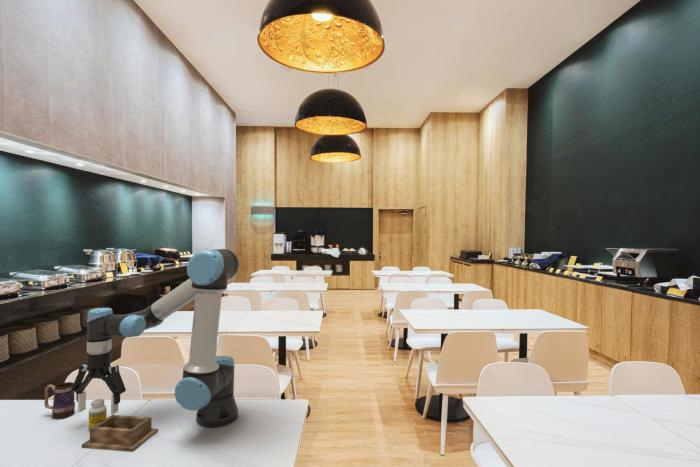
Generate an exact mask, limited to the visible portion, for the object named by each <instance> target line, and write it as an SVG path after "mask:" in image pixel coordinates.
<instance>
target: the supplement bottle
mask: <svg viewBox="0 0 700 467" xmlns="http://www.w3.org/2000/svg"><path fill="white" fill-rule="evenodd" d="M107 412H108V411H107V405H106V404H105V399H104V398H98V399H94V400H92V401H91V403H90V407H89V409H88V431H90V428H92V427H93V426H95V425H97V424H98V423H100V422H101V421H103V420H105V419H106V418H107Z"/></svg>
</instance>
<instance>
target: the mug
mask: <svg viewBox="0 0 700 467" xmlns="http://www.w3.org/2000/svg"><path fill="white" fill-rule="evenodd" d="M73 384H74V382H72V381H67V382H62V383H61V382H60V383H58V384H56V385H54V384H48V385H45V388H44V390H43V391H44V392H43V393H44V408H46V409H49V410H51V412H52V413H51V414H52V415H51V418H52V419H54V420H63V419H67V418H69V417H71V416H73V415H74V414H75V409H76V408H75V407H76V401H75V392H74V391H73V392H72V391H71V388H72V386H73ZM50 388H51V389H52V390H51V391H53V400H52V401H53V402H52V403H53V404H52V405H49V389H50Z"/></svg>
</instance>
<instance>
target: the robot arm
mask: <svg viewBox="0 0 700 467" xmlns="http://www.w3.org/2000/svg"><path fill="white" fill-rule="evenodd" d="M239 268H240V259H239V258H238V255H237V254H236V253H235V252H233V251H232V250H230V249H227V248H219V249H218V248H216V249H213V248H210V249H208V248H206V249H203V250H200V251H197V252H195V253H194V254H193V255H192V256H191V257H190V259H189V260H188V263H187V265H186V274H187V277H188V279H187V280H185V281H184V282H182V283H181V284H180V285H178V286H177V287H175V288H173V289H172V290H171V291H169V292H168V293H166V294H165V295H163V296H162V297H160V298H159V299H158V300H156V301H154V303H152V304H151V305H149V306H147V307H146V308H144V309H143V310H142V309H141V310H139V311H135V312H132V313H127V314H114V312H113V309H112V308H110V307H98V308H92V309H90V310H89V311H88V313H87V319H86V320H87V321H86V323H87V325H86V326H87V327H86V328H87V329H86V330H87V332H86V334H87V336H86V353H87V354H86V361H85V362H86V363H84V364H81V365H79V366H78V373H77V374H76V377H75V380H74V382H73V383H74V384H73V386H72V388H71V391H72V392H73V391H74V393H75V394H76V398H75V399H76V401H75V402H76V403H77V413H78V414H79V413H81V412H84V411H86V408H87V407H86V406H87V391H86V388H87V387H88V385H89V384H90V382H92V380H94V379H98V380H99V379H101V380H102V381H103V382H104V383H105V384H106V386H107V387H108V388H109V390H110V392H111V393H112V395H111V396H110V416H111V415H116V413H118V412H119V404H120V402H121V395H122V394H123V393H125V392H126V391H127V390H126V386H125V384H124V381H123V378H122V375H121V373H120V366H119V364H117V365H113V366H111V362H112V351H111V350H112V349H113V348H112V346H113V345H112V343H113V342H112V341H113V340H112V338H113V337H124V338H134V337H136V338H137V337H140V336H141V335H142V333H144V332H145V331H146V330H149V329H151V328H152V329H153V328H156V327H158V326H159V325H161V324H162V323H163V322H164V320H165V319H167V318H168V317H169V316H171V315H173V314H174V313H176V312H177V311H179V310H180V309H182V308H183V307H185V306H186V305H187V304H189V303H190V302H192V301H193V300H194V305H193V306H194V308H193V309H194V310H193V318H192V326H191V327H192V328H191V337H190V345H189V356H188V362H187V363H185V364H184V365H183V370H182V378H181V379H180V380H179V381H178V382H177V384H176V386H175V388H174V397H175V400H176V402H177V403H178V404H179V405H180V407H182V408H184V410H188V411H192V412H193V411H194V412H195V411H197V412H196V414H195V415H196V416H195V419H196V420H195V422H196V424H197V425H199V426H200V427H205V428H217V427H222V426H226V425H228V424H231V423H233V422H235V421H236V420H237V419H238V418H239V407H238V405H237V401H236V399H235V398H236V397H235V396H234V395H235V393H234V392H235V391H234V390H235V366H236V365H235V359H234V358H233V357H231V356H228V355H216V354H217V345H218V336H219V326H220V314H221V308H222V307H221V306H222V297H223V296H222V294H223V293H224V292H225V291H226V290H227V289H228V282H229V281H228V280H230V279H232V278H234V276H235V275H237V273H238V271H239ZM87 372H88V373H87ZM86 374H87V375H86Z"/></svg>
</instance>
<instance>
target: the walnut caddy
mask: <svg viewBox="0 0 700 467" xmlns="http://www.w3.org/2000/svg"><path fill="white" fill-rule="evenodd" d="M152 418H153V417H152V416H151V417H150V416H135V415H134V416H133V415H121V414H119V415H118V414H113V415H111V414H110V416H109V417H106V419H105V420H103V421H101V422H100V423H98V424H97V425H95V426H93V427H92V428H90V430H89V439H88V440H87V441H85V442H84V443H82V444H81V448H83V449H96V450H107V451H108V450H109V451H119V452H122V451H123V452H134V451H136V450H137V449H138V448H139V447H141V446H142V445H143V444H145V442H147V441H148V440H149V439H151V438H152V437H153V436H154V435H155V434H157V433H158V432H159V428H153V426H152V420H153V419H152Z"/></svg>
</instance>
